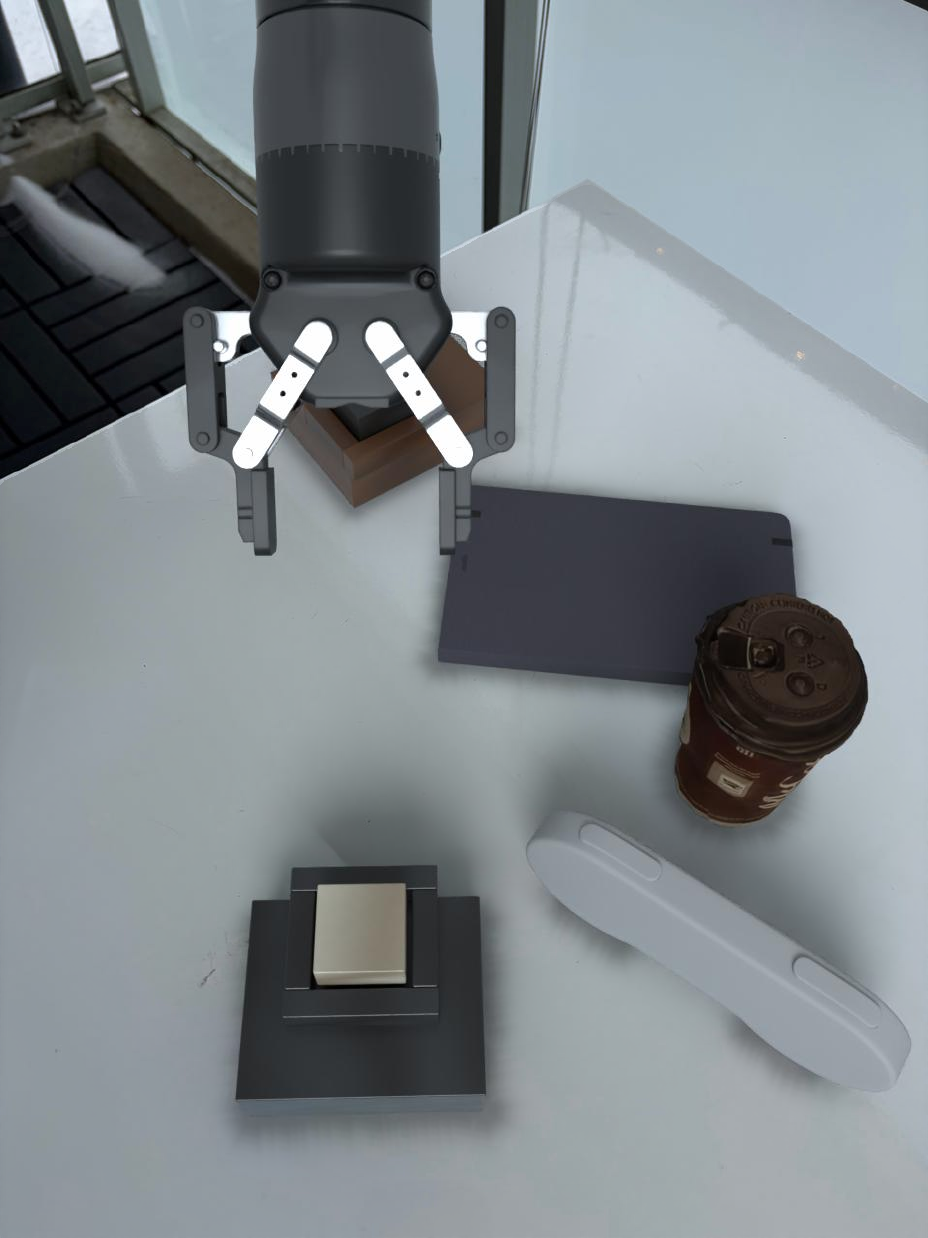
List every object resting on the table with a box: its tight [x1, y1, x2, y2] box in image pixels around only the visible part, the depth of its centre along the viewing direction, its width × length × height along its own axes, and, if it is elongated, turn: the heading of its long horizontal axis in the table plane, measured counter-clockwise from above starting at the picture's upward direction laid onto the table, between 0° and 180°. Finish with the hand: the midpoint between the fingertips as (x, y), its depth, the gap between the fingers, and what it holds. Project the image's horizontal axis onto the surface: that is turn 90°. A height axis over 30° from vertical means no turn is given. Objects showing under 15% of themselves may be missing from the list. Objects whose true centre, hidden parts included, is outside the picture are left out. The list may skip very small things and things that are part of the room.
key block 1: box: [269, 334, 484, 509], centre depth 72 cm, size 12×11×6 cm
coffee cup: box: [673, 593, 869, 828], centre depth 55 cm, size 9×8×13 cm
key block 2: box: [234, 864, 487, 1118], centre depth 51 cm, size 11×10×6 cm
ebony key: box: [332, 400, 414, 442], centre depth 67 cm, size 4×4×2 cm
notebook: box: [437, 484, 797, 687], centre depth 67 cm, size 13×2×21 cm
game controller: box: [525, 809, 912, 1093], centre depth 51 cm, size 20×2×8 cm, turn 55°
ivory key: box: [313, 883, 407, 985], centre depth 49 cm, size 4×4×2 cm
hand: (357, 552), depth 48 cm, fingers open, 7 cm apart
